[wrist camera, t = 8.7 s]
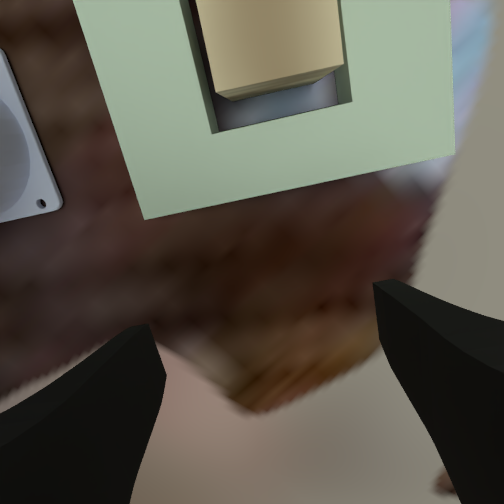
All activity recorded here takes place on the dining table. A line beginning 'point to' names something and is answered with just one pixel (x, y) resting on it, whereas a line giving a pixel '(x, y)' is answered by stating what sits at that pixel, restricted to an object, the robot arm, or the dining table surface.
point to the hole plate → (277, 130)
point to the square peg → (269, 44)
